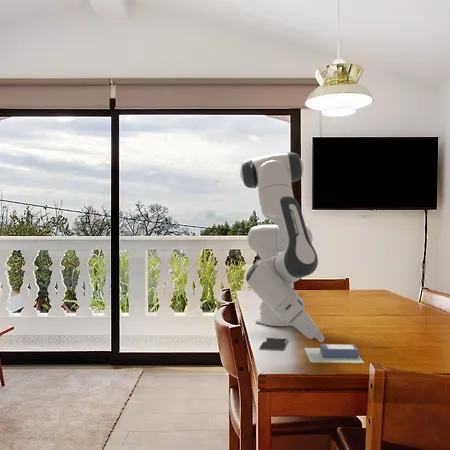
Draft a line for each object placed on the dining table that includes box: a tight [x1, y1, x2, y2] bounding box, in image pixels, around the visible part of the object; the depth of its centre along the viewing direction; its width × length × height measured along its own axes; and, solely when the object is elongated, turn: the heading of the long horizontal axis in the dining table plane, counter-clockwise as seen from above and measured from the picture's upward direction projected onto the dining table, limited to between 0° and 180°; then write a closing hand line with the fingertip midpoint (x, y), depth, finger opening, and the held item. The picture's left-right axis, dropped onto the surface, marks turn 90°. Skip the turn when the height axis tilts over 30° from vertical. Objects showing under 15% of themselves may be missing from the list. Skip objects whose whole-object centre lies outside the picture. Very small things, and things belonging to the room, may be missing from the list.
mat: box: [303, 347, 365, 364], centre depth 146 cm, size 16×15×1 cm
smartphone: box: [258, 337, 289, 352], centre depth 158 cm, size 8×1×15 cm
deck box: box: [319, 343, 359, 358], centre depth 146 cm, size 6×2×10 cm
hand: (322, 339), depth 146 cm, fingers closed
